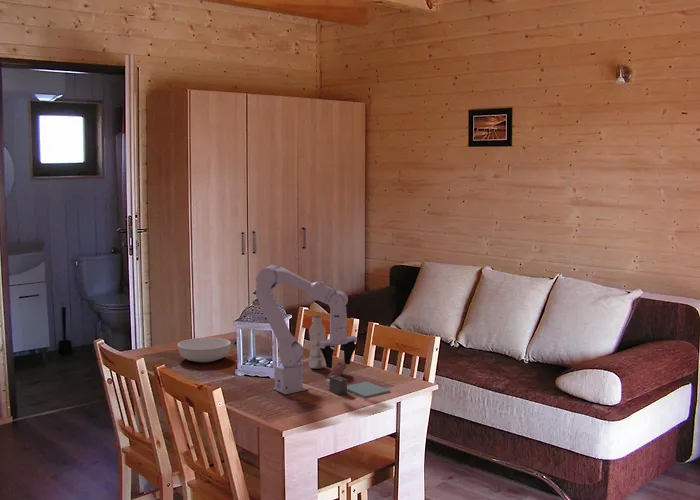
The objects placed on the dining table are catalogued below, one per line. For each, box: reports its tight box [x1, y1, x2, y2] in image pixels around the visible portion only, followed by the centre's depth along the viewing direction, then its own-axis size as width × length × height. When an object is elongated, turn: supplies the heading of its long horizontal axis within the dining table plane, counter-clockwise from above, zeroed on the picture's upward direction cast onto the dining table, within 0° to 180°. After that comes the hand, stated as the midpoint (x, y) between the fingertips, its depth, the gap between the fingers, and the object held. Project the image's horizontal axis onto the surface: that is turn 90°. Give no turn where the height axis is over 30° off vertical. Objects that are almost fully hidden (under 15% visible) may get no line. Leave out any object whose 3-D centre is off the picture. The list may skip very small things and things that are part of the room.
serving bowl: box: [177, 337, 232, 364], centre depth 308 cm, size 21×21×7 cm
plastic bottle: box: [308, 315, 327, 370], centre depth 295 cm, size 6×7×20 cm
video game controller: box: [326, 360, 348, 379], centre depth 284 cm, size 10×5×7 cm, turn 169°
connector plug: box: [324, 375, 348, 396], centre depth 267 cm, size 3×11×5 cm, turn 37°
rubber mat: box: [347, 381, 391, 398], centre depth 268 cm, size 11×13×1 cm
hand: (338, 365), depth 265 cm, fingers open, 7 cm apart
